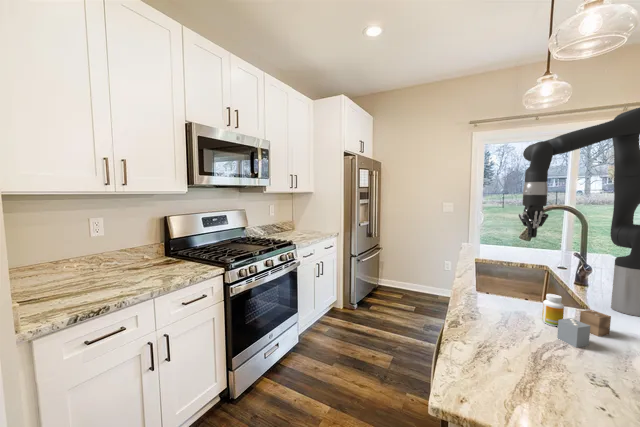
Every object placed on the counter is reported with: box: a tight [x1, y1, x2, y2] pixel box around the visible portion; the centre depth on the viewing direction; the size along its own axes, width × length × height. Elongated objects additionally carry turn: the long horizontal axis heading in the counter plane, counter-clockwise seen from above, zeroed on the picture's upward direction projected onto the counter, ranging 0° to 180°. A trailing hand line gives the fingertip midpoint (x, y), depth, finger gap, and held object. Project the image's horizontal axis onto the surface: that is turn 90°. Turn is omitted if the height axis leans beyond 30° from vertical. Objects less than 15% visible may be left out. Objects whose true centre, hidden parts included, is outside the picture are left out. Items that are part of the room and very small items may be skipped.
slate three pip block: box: [556, 317, 591, 349], centre depth 80 cm, size 5×5×6 cm
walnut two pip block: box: [579, 309, 612, 337], centre depth 86 cm, size 5×5×6 cm
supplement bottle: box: [541, 293, 565, 328], centre depth 91 cm, size 5×5×10 cm
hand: (532, 237), depth 107 cm, fingers closed
